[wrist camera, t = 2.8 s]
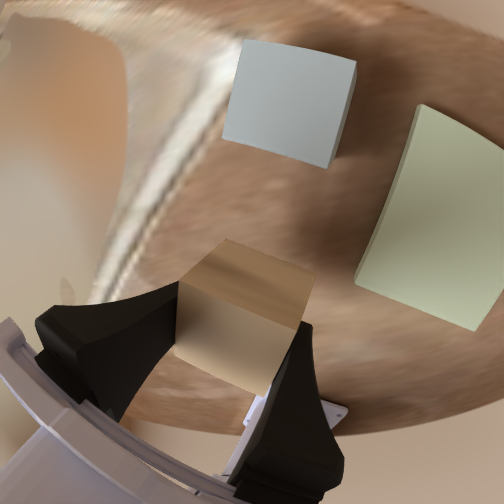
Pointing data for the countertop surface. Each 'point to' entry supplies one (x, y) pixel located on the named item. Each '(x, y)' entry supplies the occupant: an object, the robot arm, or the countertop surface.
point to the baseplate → (441, 224)
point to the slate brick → (290, 101)
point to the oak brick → (240, 314)
